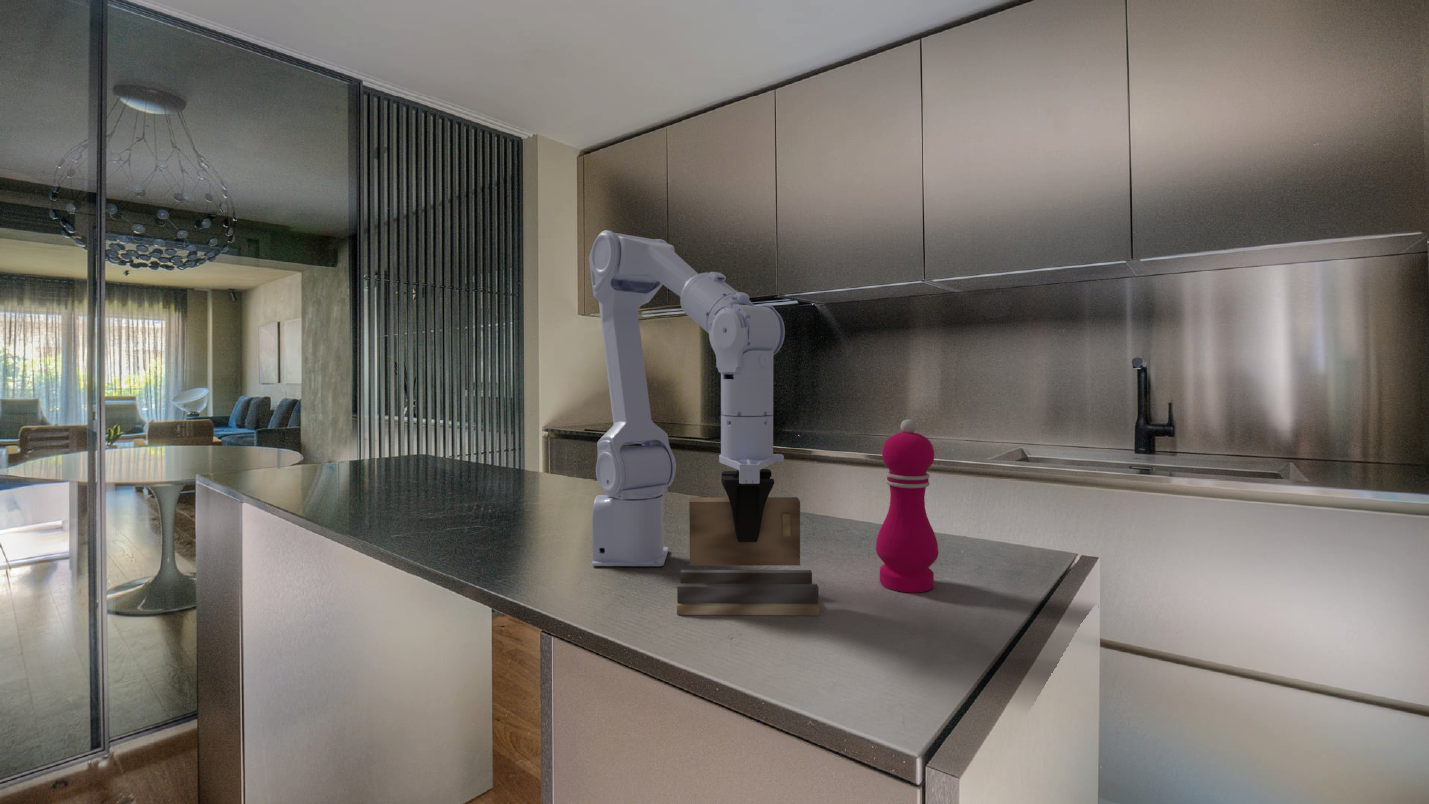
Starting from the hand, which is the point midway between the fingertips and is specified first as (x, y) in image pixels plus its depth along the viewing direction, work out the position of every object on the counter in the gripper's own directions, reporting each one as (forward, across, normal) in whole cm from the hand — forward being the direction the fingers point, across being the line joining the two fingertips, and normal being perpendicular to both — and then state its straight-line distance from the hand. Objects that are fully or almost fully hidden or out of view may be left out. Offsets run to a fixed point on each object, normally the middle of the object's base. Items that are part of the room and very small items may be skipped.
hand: (746, 537), depth 70 cm
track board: (+7, 0, 0) cm, 7 cm away
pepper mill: (+8, +6, -20) cm, 22 cm away
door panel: (+3, 0, 0) cm, 3 cm away
